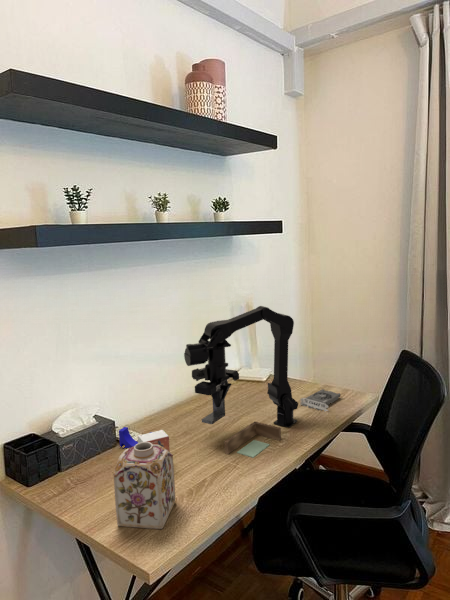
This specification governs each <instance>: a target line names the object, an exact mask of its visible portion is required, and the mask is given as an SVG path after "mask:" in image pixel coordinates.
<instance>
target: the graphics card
mask: <svg viewBox="0 0 450 600" xmlns="http://www.w3.org/2000/svg"><path fill="white" fill-rule="evenodd" d="M339 398H341V393H340V392H339V393H336V392H334V391H331V390H325V389H324V388H322V389H319V390H318V391H316V392H314V393H312V394H310V395H308V396H307V397H301V398H300V399H299V400H300V404H299V405H300V406H301V405H302V406H303V407H307V406H308V407H307V408H308V409H311V408H312V409H314V408H315V410H316V409H317V410H316V411H319V410H321V411H322V410H324V411H323V412H326V411H328V412H329V405H330V403H331V404H333V403H334V402H336V401H338V400H339Z"/></svg>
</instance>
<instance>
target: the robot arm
mask: <svg viewBox="0 0 450 600" xmlns="http://www.w3.org/2000/svg"><path fill="white" fill-rule="evenodd" d="M261 321H265V322H267V323H269V324H270V325H269V326H270V331H271V335H272V336H273V339H274V345H273V346H274V348H273V351H274V352H273V353H274V355H273V379H272V381H271V382H268V383H267V393H266V394H267V395H268V397H269V399H270V400H271V401H272V403H273V404H274V405H276V420H275V421H274V422H273V424H274V425H277V426H281V427H285V428H291V427H292V426H294V425H295V424H296V423H297V422H298V419H295V418H294V411H295V410H298V406H299V402H298V401H297V400H295V399H294V398H293V396H292V388H291V386H290V383H289V380H288V378H289V377H288V371H289V340H290V338H291V336H292V334H293V331H294V325H295V322H294V319H293V317H291V316H290V315H287V314H284V313H279V312H276V311H274V310H273V309H271V308H269V307H266V306H263V305H260V306H257V307H256V308H254V309H251V310H248V311H246V312H243V313H241V314H239V315H236V316H234V317H232V318H231V317H230V318H228V319H223V320H222V319H221V320H216V321H210V322H209V323H207V324H206V325H205V327H204V332H203V333H202V335H201V336H200V338H199V340H198V343H188V344H186V345H185V346H186V347H185V350H184V352H183V357H184V362H185V364H186V366H187V367H191V366H195V365H196V366H198V365H202V364H205V365H204V367H201V368H194V369H192V370H191V378H192V379H193V381H196V382H198V381H200V380H202V381H201V382H199V383H196V385H194V393H195V394H199V395H205V396H210V397H211V399H212V398H213V399H212V402H213V401H214V403H215V406H216V407H219V406H220V403H221V398H226V397H227V394H228V392H229V390H230V388H231V387H232V383H230V382H229V380H230V379H231V378H232V381H235V382H236V381H238V380H239V379H240V373H239V372H238V370H233V369H228V368H227V367H228V366H229V363H228V362H226V348H229V347H232V344H230V343H229V341H228V340H227V339H229V338H230V337H231V336H232V335H233V334H234V333H236V331H239V330H242V329H244V328H246V327H248V326H250V325H251V326H252V325H253V324H256V323H258V322H261ZM206 363H207V364H206ZM203 379H204V380H203ZM208 381H209V382H208Z"/></svg>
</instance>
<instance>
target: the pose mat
mask: <svg viewBox="0 0 450 600" xmlns="http://www.w3.org/2000/svg"><path fill="white" fill-rule="evenodd" d="M270 446H271V445H270V443H267V442H264V441H259V440H257V439H253V440H252V441H250V442H249V443H248V444H247V445H245V446H244V447H242V448H241V449H239V450H238V451H236V454H238V455H239V454H240V455H243V456H246V457H248V458H249V457H250V458H252V459H254V458H255V457H256V456H258V455H260V453H261V452H263V451H264V450H265V449H267V448H268V447H270Z"/></svg>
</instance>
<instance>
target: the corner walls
mask: <svg viewBox="0 0 450 600" xmlns="http://www.w3.org/2000/svg"><path fill="white" fill-rule="evenodd" d="M281 429H282V428H281V427H279V426H275V425H271V424H267V423H262V422H258V421H254V422H252V423H250V424H249V425H247V426H245V427H243V428H242V429H241V430H239V431H238V432H236V433H235V434H233V435H232V436H230V437H229V438H227V439H225V440H224V454H226V455H229V454H230V453H232V452H233V451H235V450H237V448H239V447H241V446H242V445H244V444H245V443H246V442H248V441H250V440H251V439H252V438H254V437H255V436H256V435H257V436H261V437H264V438H267V439H268V438H269V439H273V440H276V441H281V440H282V431H281Z"/></svg>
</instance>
